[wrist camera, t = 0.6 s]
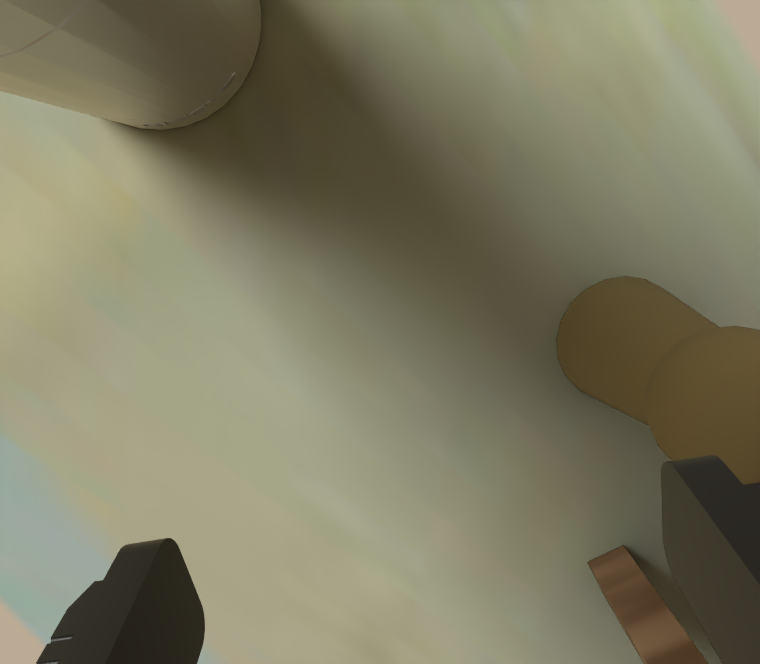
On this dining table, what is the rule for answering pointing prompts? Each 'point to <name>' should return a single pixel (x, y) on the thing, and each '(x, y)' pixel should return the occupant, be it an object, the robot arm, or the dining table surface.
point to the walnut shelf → (643, 611)
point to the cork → (667, 370)
